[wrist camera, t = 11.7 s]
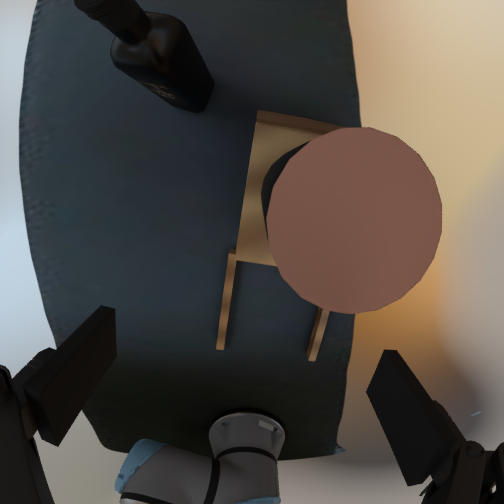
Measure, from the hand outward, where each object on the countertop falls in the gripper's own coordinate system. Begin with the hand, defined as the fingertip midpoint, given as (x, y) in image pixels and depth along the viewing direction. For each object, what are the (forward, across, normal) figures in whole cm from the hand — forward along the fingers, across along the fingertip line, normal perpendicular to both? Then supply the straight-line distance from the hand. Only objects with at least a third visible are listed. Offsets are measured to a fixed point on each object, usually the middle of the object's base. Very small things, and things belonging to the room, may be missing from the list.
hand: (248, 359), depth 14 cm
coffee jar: (+22, -5, -7) cm, 24 cm away
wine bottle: (+32, +12, -19) cm, 39 cm away
